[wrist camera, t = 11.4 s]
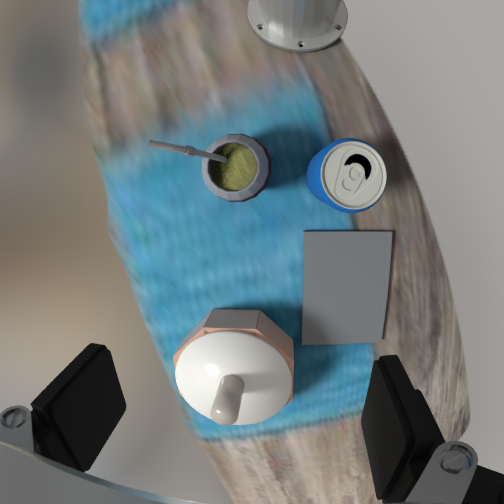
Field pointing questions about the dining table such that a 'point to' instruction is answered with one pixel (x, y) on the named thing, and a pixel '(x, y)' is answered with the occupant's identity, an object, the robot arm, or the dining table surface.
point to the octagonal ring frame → (244, 322)
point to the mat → (345, 286)
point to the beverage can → (347, 175)
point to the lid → (233, 377)
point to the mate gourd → (230, 165)
